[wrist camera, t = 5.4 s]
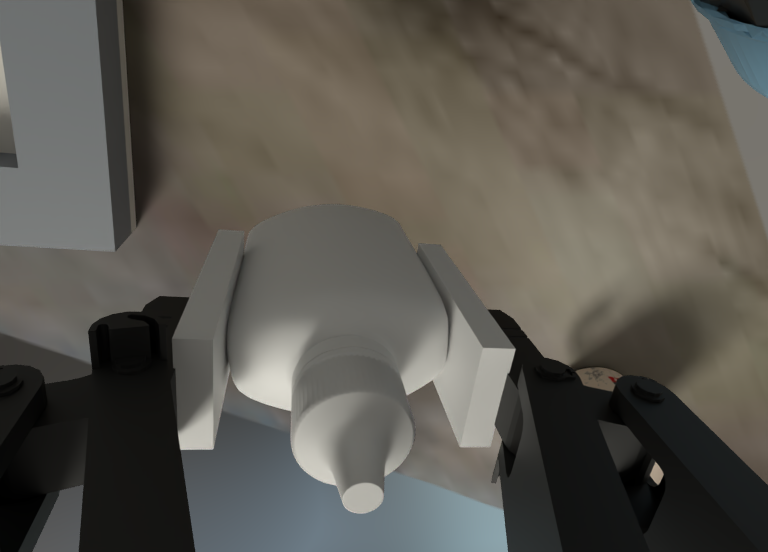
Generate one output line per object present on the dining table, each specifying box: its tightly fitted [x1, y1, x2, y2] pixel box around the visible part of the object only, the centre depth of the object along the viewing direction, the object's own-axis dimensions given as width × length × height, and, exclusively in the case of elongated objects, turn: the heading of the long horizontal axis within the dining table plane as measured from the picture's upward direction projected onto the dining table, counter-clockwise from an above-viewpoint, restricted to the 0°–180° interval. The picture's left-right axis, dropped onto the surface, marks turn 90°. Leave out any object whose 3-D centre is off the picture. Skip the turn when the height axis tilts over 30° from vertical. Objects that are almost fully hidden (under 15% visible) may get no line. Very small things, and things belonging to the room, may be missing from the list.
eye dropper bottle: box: [226, 204, 448, 513], centre depth 14 cm, size 4×6×12 cm
